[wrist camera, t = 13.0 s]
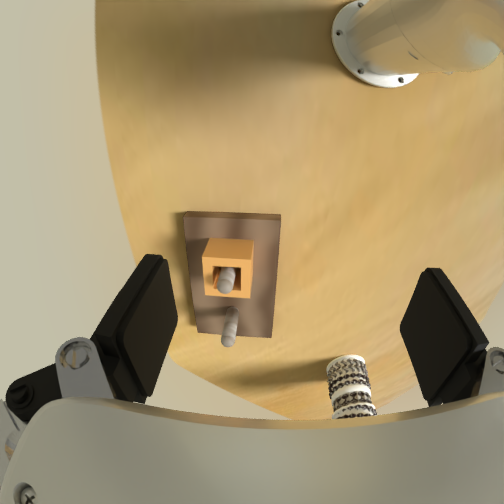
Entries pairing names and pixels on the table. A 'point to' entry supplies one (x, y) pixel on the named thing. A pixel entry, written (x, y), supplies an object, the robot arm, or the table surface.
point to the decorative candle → (349, 387)
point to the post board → (263, 281)
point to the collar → (228, 265)
